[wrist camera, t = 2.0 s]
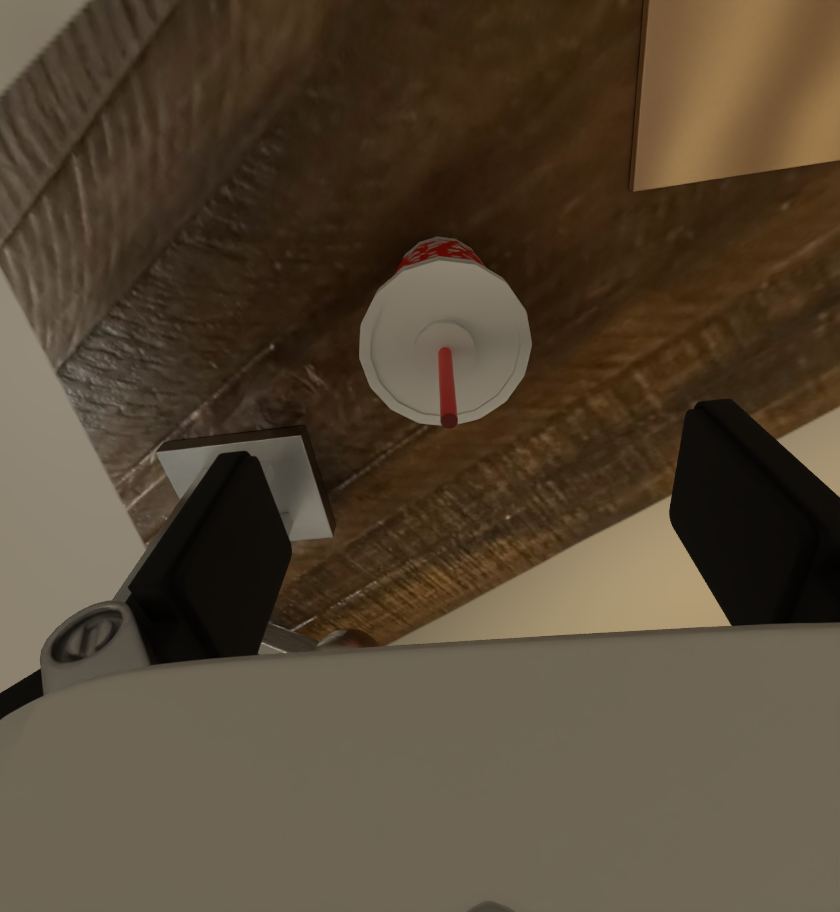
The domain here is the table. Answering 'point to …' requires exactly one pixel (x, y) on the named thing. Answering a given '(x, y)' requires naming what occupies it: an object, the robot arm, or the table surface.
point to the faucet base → (283, 467)
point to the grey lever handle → (312, 641)
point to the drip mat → (735, 89)
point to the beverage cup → (444, 336)
